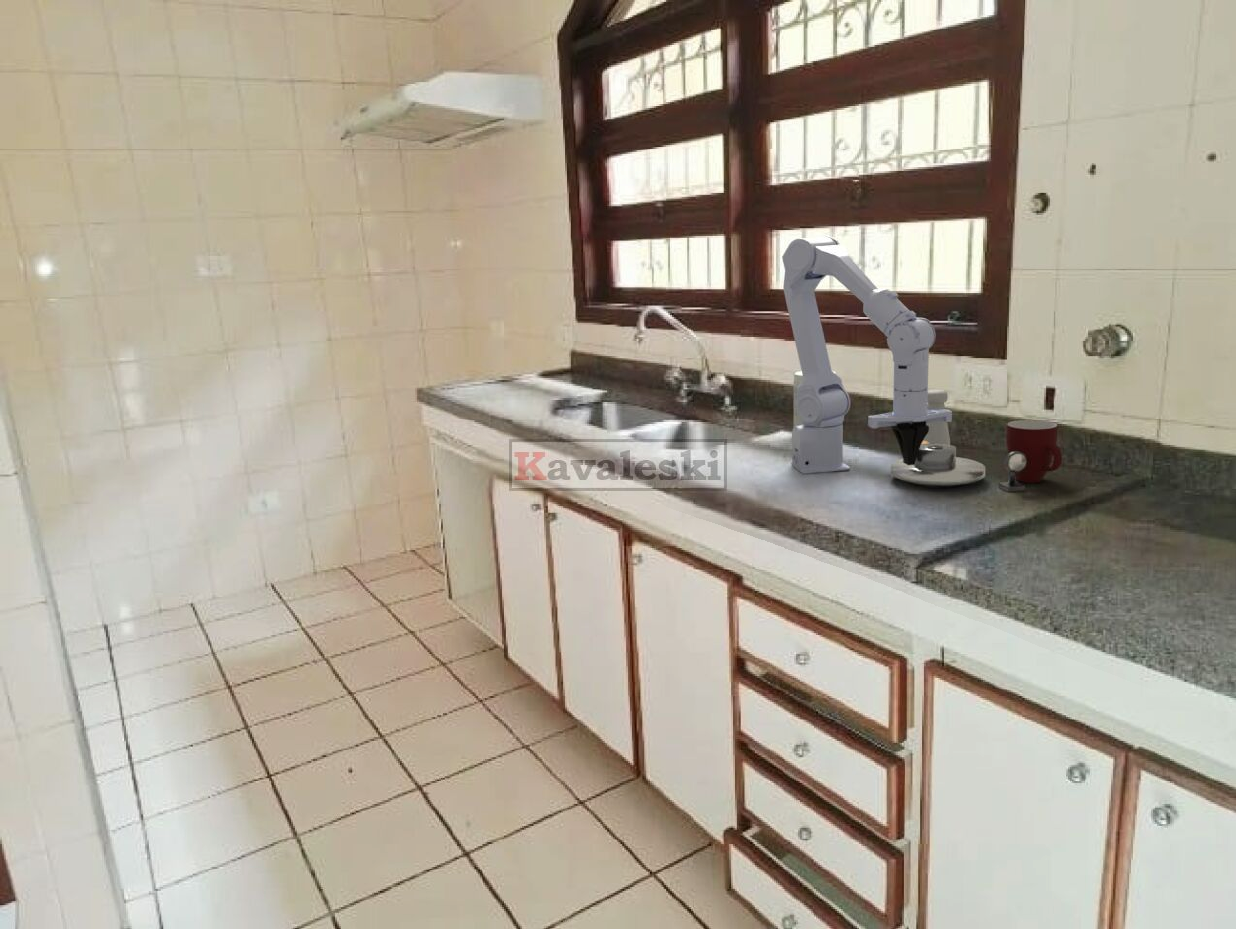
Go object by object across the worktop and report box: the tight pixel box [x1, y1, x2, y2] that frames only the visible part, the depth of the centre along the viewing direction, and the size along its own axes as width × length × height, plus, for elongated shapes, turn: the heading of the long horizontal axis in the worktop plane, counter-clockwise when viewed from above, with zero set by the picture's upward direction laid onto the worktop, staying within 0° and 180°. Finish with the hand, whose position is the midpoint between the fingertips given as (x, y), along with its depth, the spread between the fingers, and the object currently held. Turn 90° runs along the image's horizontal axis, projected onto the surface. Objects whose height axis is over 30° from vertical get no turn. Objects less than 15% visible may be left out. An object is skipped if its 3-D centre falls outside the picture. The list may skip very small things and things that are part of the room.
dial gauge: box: [998, 451, 1027, 493], centre depth 143 cm, size 4×3×7 cm
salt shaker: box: [923, 388, 951, 445], centre depth 168 cm, size 6×6×13 cm
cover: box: [914, 443, 957, 472], centre depth 151 cm, size 7×7×4 cm
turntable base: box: [912, 483, 964, 489], centre depth 152 cm, size 10×10×1 cm
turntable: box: [890, 441, 986, 485], centre depth 151 cm, size 16×16×4 cm
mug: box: [1005, 419, 1063, 484], centre depth 146 cm, size 11×8×10 cm
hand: (909, 463), depth 151 cm, fingers closed
